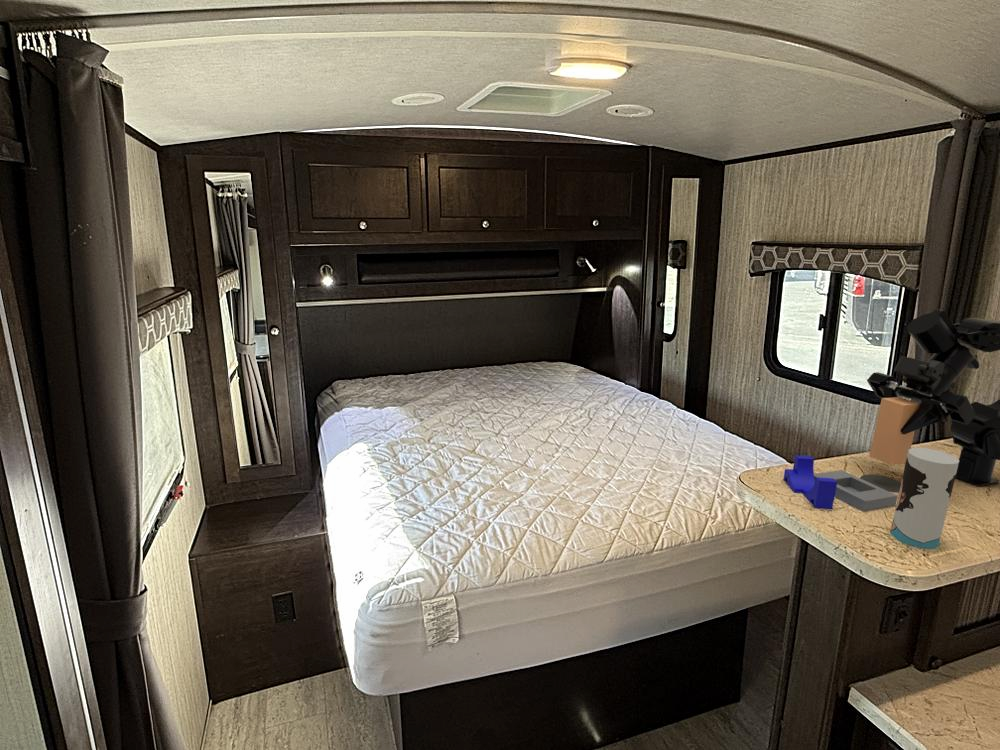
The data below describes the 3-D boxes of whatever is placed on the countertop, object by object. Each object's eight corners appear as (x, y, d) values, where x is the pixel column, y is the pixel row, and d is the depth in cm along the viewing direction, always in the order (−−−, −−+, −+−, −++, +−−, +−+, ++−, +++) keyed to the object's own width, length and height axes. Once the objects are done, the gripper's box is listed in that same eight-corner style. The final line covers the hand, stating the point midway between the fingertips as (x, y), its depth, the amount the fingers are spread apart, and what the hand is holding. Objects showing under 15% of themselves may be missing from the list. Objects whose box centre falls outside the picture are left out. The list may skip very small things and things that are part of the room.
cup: (936, 537, 102) (956, 453, 98) (940, 555, 96) (962, 467, 92) (889, 526, 105) (907, 444, 101) (890, 543, 100) (909, 457, 96)
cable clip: (782, 482, 122) (787, 454, 120) (806, 484, 121) (811, 456, 120) (805, 510, 110) (810, 480, 109) (831, 512, 110) (837, 482, 108)
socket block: (839, 481, 123) (841, 469, 122) (894, 508, 112) (897, 495, 111) (808, 486, 120) (811, 474, 120) (862, 514, 109) (865, 501, 109)
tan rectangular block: (885, 454, 123) (898, 397, 120) (907, 462, 119) (921, 404, 116) (869, 456, 122) (881, 398, 119) (890, 464, 117) (904, 405, 114)
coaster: (878, 475, 127) (879, 472, 127) (916, 491, 119) (916, 488, 119) (850, 479, 124) (850, 476, 124) (886, 496, 117) (887, 493, 117)
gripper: (882, 333, 124) (832, 389, 123) (979, 353, 107) (922, 418, 106) (902, 368, 129) (854, 422, 128) (998, 392, 112) (943, 455, 111)
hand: (890, 428), depth 118 cm, fingers closed on tan rectangular block, 5 cm apart
